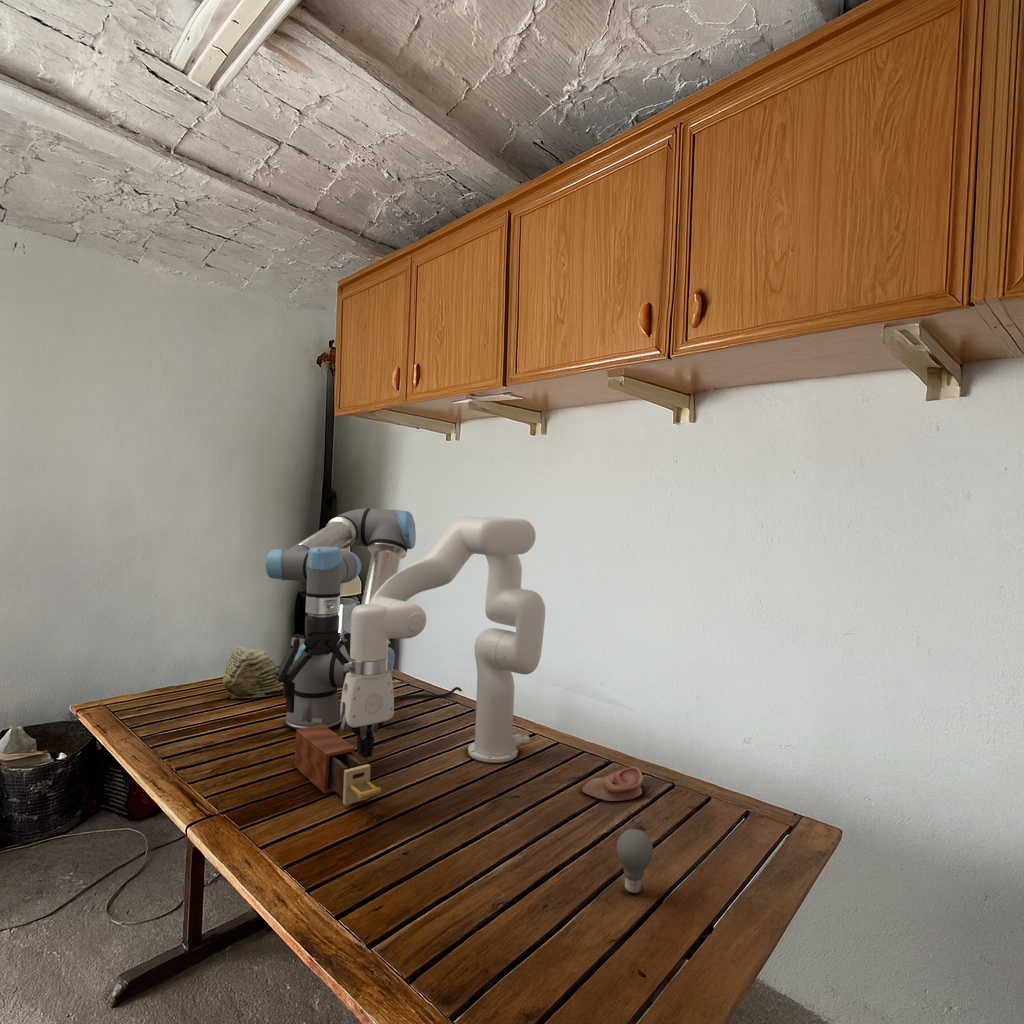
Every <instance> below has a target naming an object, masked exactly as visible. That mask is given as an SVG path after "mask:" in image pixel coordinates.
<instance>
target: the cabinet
mask: <svg viewBox="0 0 1024 1024" xmlns="http://www.w3.org/2000/svg"><path fill="white" fill-rule="evenodd" d="M355 749H356V748H355V746H354V745H352V744H351V743H349V742H348V741H346V740H345V739H344V738H342V737H341V736H340V735H338V734H337V733H336V732H334V731H333V730H332V729H329V728H327V727H326V726H325V725H323V724H322V725H317V726H313V727H308V728H303V729H298V730H296V731H295V748H294V768H296V769H297V770H298V771H299V772H300V773H302V775H303V776H304V777H305V778H306V779H308V780H309V781H310V782H311V783H312V784H313V785H314V786H315V787H316V788H317V789H318V790H319V791H321V793H323V794H324V795H326V794H330V793H333V792H335V791H334V790H333V789H332V788H331V787H330V786H329V785H328V773H329V757H330V756H334V755H339V754H343V753H347V752H348V753H349V754H350V755H352V756H353V757H354V758H355V751H356V750H355Z"/></svg>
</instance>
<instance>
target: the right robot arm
mask: <svg viewBox="0 0 1024 1024" xmlns="http://www.w3.org/2000/svg"><path fill="white" fill-rule="evenodd" d="M536 537H537V536H536V530H535V527H534V526H533V524H532V523H531V522H530V521H529V520H527V519H523V518H511V517H499V516H484V517H478V516H460V517H457V518H455V519H453V520H452V521H451V522H450V523H449V524H448V526H447V527H446V528H445V530H443V532H442V533H441V534H440V535H439V537H438V538H437V539H436V541H435V542H434V543H433V544H432V545H431V546H430V548H429V549H428V550H427V551H426V553H425V554H424V555H423V556H422V557H421V558H420V559H418V560H417V561H414V562H413V563H411V564H409V565H407V566H405V567H404V568H403V569H401V570H398V573H396V574H394V575H393V576H392V577H390V578H389V579H388V580H387V581H386V582H385V583H384V584H383V585H382V586H381V587H380V588H379V590H378V591H377V592H376V593H375V595H374V596H373V597H372V598H371V600H370V602H369V603H368V604H362V603H361V604H362V605H361V604H359V605H355V606H354V607H353V608H352V611H351V615H350V616H351V617H350V633H351V641H350V658H349V662H348V663H346V664H344V665H343V668H344V670H348V671H349V673H347V674H346V677H345V681H344V685H343V688H342V691H341V699H340V706H341V709H340V717H341V720H342V723H341V724H340V727H339V728H340V730H341V731H342V732H343V733H353V734H354V735H355V736H356V753H357V754H358V755H359V756H360V757H361V758H363V759H368V758H372V757H373V751H374V747H375V737H376V736H377V735H378V731H380V729H381V728H382V726H385V725H387V724H389V723H390V722H391V720H392V718H393V717H394V714H395V700H394V697H395V693H394V682H393V676H392V674H391V671H389V670H387V659H388V640H389V641H390V639H392V640H393V639H398V640H399V639H400V640H402V639H403V640H404V639H405V640H406V639H407V640H408V639H412V638H415V637H417V636H418V635H420V634H421V633H422V632H423V631H424V629H425V628H426V625H427V614H426V612H425V610H424V608H422V607H421V606H420V605H418V604H416V603H415V602H410V601H408V600H410V598H412V597H414V596H415V595H417V594H420V593H422V592H426V591H430V590H433V589H437V588H440V587H443V586H446V585H448V584H451V583H452V581H454V579H455V578H456V577H457V575H458V574H459V573H460V571H461V570H462V568H463V567H464V566H465V564H466V563H467V562H468V560H470V558H471V557H472V556H473V555H482V556H483V555H484V556H485V558H486V561H487V565H488V566H487V567H488V574H487V575H488V576H487V584H486V586H487V587H486V595H485V604H484V610H485V615H486V618H487V619H488V620H489V621H491V622H492V623H495V624H499V625H503V626H509V627H514V628H515V631H512V630H508V629H503V628H497V627H491V628H486V629H484V630H482V631H481V632H479V633H478V635H477V637H476V639H475V641H474V658H475V664H476V698H475V699H476V700H475V702H476V703H475V725H474V742H472V743H470V745H469V746H468V747H467V748H468V749H467V753H468V755H469V756H470V757H471V758H472V759H474V760H476V761H479V762H483V763H488V764H489V763H490V764H501V763H507V762H509V761H512V760H514V759H516V758H517V756H518V754H519V753H518V752H519V749H518V747H519V746H520V745H528V744H530V743H531V738H530V736H529V735H523V736H522V734H520V733H517V734H514V733H513V732H514V731H513V728H514V707H515V690H516V689H515V679H514V676H513V673H515V674H519V675H530V674H532V673H533V672H535V671H536V669H537V668H538V666H539V664H540V662H541V657H542V650H543V643H544V642H543V641H544V634H545V633H544V632H545V624H546V623H545V622H546V605H545V602H544V599H543V597H542V596H541V594H539V593H538V592H537V591H535V590H530V589H525V588H522V577H523V576H522V575H523V568H522V567H523V566H522V562H521V559H520V556H519V555H524V554H526V553H529V551H531V549H532V548H533V547H534V545H535V543H536Z"/></svg>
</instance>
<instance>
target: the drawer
mask: <svg viewBox="0 0 1024 1024" xmlns="http://www.w3.org/2000/svg"><path fill="white" fill-rule="evenodd" d="M328 785H329V786H330V787H331V788H332V789H333V790H334V792H335V793H336V794H337V795H339V797H341V798H342V804H343V805H344V806H348V805H351V804H354V803H358V802H361V801H365V800H368V799H370V798H371V797H373V796H377V795H380V794H382V788H381V787H380V786H376V785H374V784H373V783H372V782H371V765H370V764H369V763H367V764H363V762H361V761H360V760H359V759H358V758H356V757H355V756H354V757H353V756H352V755H350V754H349V753H348V752H347V753H343V754H339V755H334V756H330V757H329V773H328Z"/></svg>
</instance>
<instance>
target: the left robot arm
mask: <svg viewBox="0 0 1024 1024" xmlns="http://www.w3.org/2000/svg"><path fill="white" fill-rule="evenodd" d="M416 529H417V528H416V523H415V519H414V516H413V514H412V513H411V512H410V511H409V510H403V509H402V510H401V509H397V508H396V509H387V508H386V509H383V508H367V507H365V508H357V509H356V508H355V509H353V510H349V511H346V512H344V513H341V514H338V515H337V516H335V517H333V518H331V519H330V520H329V521H328V522H327V523H326V525H325V527H322V528H321V529H320V530H318V531H316V532H315V533H313V534H312V535H310V536H307V538H305V539H303V540H301V541H300V542H299V543H298V542H297V543H296V544H295V545H294V546H292V547H290V548H286V549H285V548H274V549H271V550H270V551H269V552H268V553H267V556H266V557H265V566H264V567H265V572H266V575H267V576H268V577H269V578H270V579H274V580H281V581H297V582H306V594H305V613H306V615H305V617H304V636H303V637H295V636H291V638H290V641H289V647H288V649H287V651H286V652H285V654H284V657H283V659H282V660H281V663H280V664H279V667H278V671H277V673H276V675H275V677H274V678H275V679H276V680H277V681H279V682H283V693H282V696H283V697H284V698H285V700H286V701H285V710H286V711H287V713H286V715H285V726H286V728H287V729H289V730H291V731H294V732H296V730H298V729H303V728H308V727H313V726H317V725H322V724H323V725H325V726H326V727H327V728H329V729H330V730H332V729H335V728H337V727H339V726H341V723H342V720H341V717H340V709H341V701H340V699H339V695H338V689H343V685H344V681H345V677H346V674H347V673H349V671H348V670H344V668H343V665H344V664H346V663H348V662H349V658H350V641H351V632H348V631H344V630H343V631H342V633H340V632H339V629H340V615H339V613H340V609H341V587H342V584H345V583H347V584H348V583H350V582H351V581H353V580H355V579H356V578H357V577H358V576H359V574H360V573H361V571H362V561H361V559H360V558H359V556H358V555H357V554H356V553H354V552H352V551H343V550H341V549H348V548H350V547H352V546H353V547H354V546H355V547H357V546H359V547H367V550H368V551H369V553H370V555H371V557H370V561H369V565H368V570H367V574H366V581H365V586H364V590H363V596H362V600H361V604H360V605H362V604H368V603H369V602H370V600H371V598H372V597H373V596H374V595H375V593H376V592H377V591H378V590H379V588H380V587H381V586H382V585H383V584H384V583H385V582H386V581H387V580H388V579H389V578H390V577H392V576H393V575H394V574H396V573H398V572H399V571H400V570H399V569H400V563H401V560H402V559H405V558H406V557H407V555H408V550H412V549H414V548H415V546H416V539H417V532H416ZM341 642H342V644H341ZM395 657H396V655H395V651H394V649H393V648H391V641H390V639H389V640H388V659H387V670H389V671H391V675H392V674H393V671H394V666H395ZM293 662H294V663H293ZM456 691H458V692H463V689H462V688H460V687H459V686H455V687H453V688H452V689H450V690H449V691H448V692H446V693H438V694H436V693H434V694H433V693H431V694H430V693H417V694H416V693H415V694H405V695H398V696H394V701H397V700H403V699H413V698H445V697H449V696H451V695H452V694H453V693H455V692H456Z"/></svg>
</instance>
